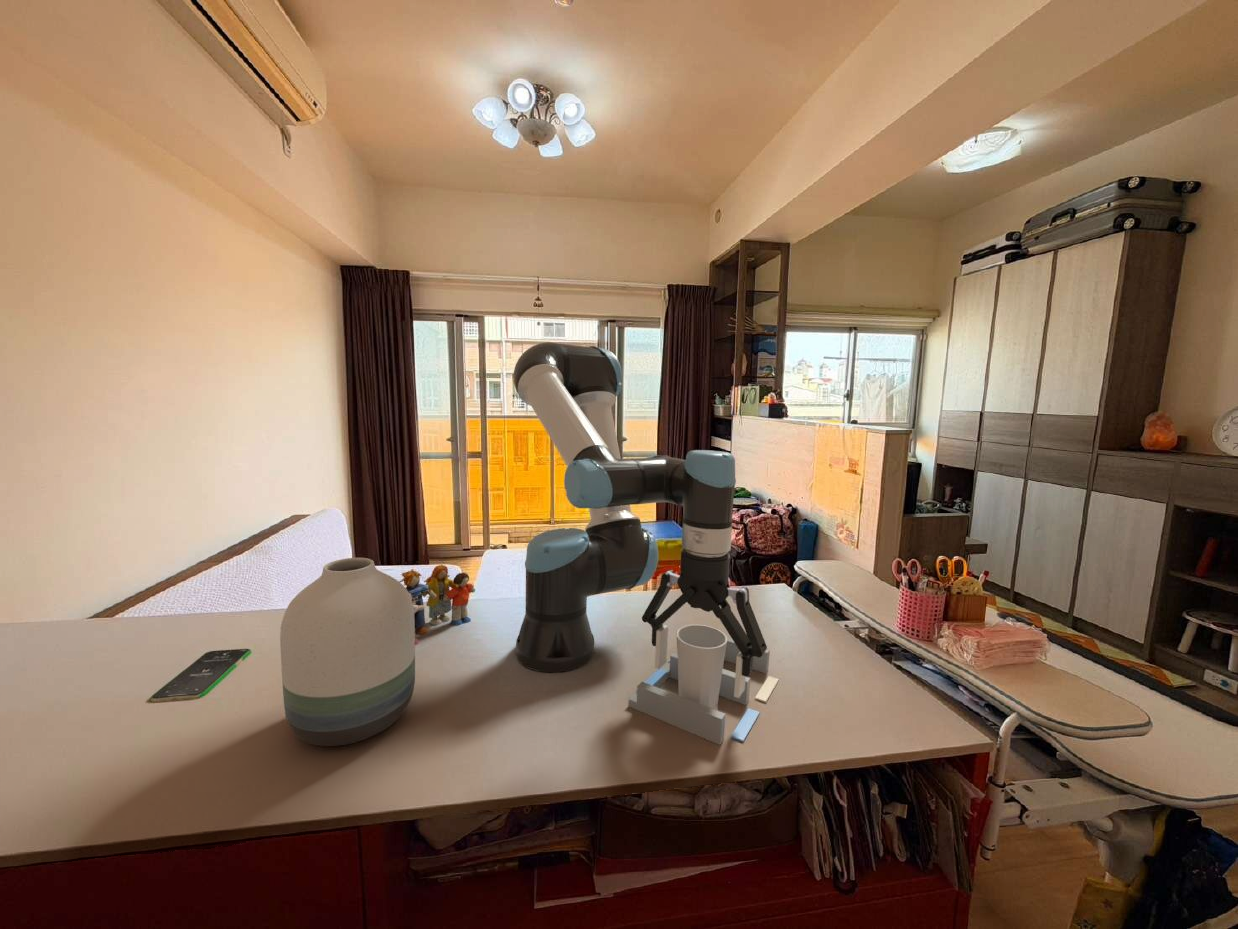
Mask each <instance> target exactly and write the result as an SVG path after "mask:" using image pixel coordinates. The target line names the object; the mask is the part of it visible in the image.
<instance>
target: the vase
mask: <svg viewBox="0 0 1238 929" xmlns="http://www.w3.org/2000/svg"><path fill="white" fill-rule="evenodd" d="M399 581H400V580H397V579H396V578H394V577H392V576H391V575H389V574H387V573H385V572H382V571H380V570H379V569H377V567H376V564H375V562H374V560H373V559H370V558H367V557H350V558H342V559H336V560H333V561H330V562H328V563H326V564H325V565H324V566H323V568H322V573H321V575H320V576H319V577H318V578H317V579H315V580H314V581H312V582H311V583H310V584H308V585H307V586H306V587H304V588H303V589H302V590H301V591H300V592H298V594H297V595H295V597H293V599H291V601H290V603H289V604H288V605H287V608H286V609H285V611H284V614H283V616H282V619H281V624H280V634H279V635H280V638H279V639H280V640H279V642H280V661H281V662H280V666H281V678H282V679H281V680H282V694H283V705H284V706H283V708H284V714H285V718H286V721H287V724H288V725H289V727H290V729H291V731H292V732H293V733H294V734H295V736H296V737H298V739H300V740H301V741H304V742H305V743H308V744H311V745H315V746H321V747H322V746H323V747H337V746H344V745H350V744H355V743H358V742H361V741H363V740H366V739H369V738H371V737H374V736H376V735H377V734H380V733H381V732H383V731H384V730H386V729H388V728H389V727H390V726H392V725H393V724H394V723H396V721H397V720H398V719H400V717H401V716H402V715H403V714H404V713H405V711H406V710H407V708H408V705H409V704H410V702H411V700H412V696H413V694H414V689H415V684H416V683H415V681H416V645H415V639H416V636H415V633H416V632H415V630H416V629H415V621H414V608H413V603H412V600H411V597H410V595H409V593H408V591H407V589H406V587H405V585H404V584H402V582H399Z"/></svg>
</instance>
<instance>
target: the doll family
mask: <svg viewBox="0 0 1238 929" xmlns="http://www.w3.org/2000/svg"><path fill="white" fill-rule="evenodd" d="M400 576H401V577H403V578H402V579H401V580H398V581H399V582H400V583H403V586H406V587H405V588H406V589H407V591H408V593H409V595H410V597H411V600H412V603H413V608H414V621H415V637H416V636H417V634H418V635H423V634H425V633H427V632H428V631H429V630H428V628H427V627H425V626H426V617H425V605H424V600H423V597H424V598H425V597H426V596H427V595H428V598H427V601H426V607H429V608H428V609H429V610H428V618H429V619H430V621H429V624H431V625H434V626H439V625H441V624H442V623H445V622H449V621H450V624H451V625H452V626H456V627H457V626H460V625H462V624H469V623H471V621H472V619H471V618H470V617H469V613H468V604H469V598H470V594H471V593H472V594H473V593H475V592H476V589H475V586H474V585H475V584H473V583H468V582H469V579H470V576H469V575H468V574H467V572H459V573H457V574H456V575H455V577H453V579H451V578H450V576H451V575H449V570H448V567H447V566H446V565H443V564H440V565H436V566H435V567H434V569H433V570H432V572H431V575H430V576H429V577H427V579H425V580H424V581H423V583H425V584H423V583H420V581H421V580H420V579H421V578H420V577H422V574H421V573H420V572H418V571H417V570H414V568H411V570H407V571H406V572H402V573H401V574H400ZM450 588H451V589H450ZM449 612H451V618H450V617H449V616H448V615H446V614H447V613H449ZM418 644H419V639H417V638H415V646H416V645H418Z"/></svg>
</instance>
